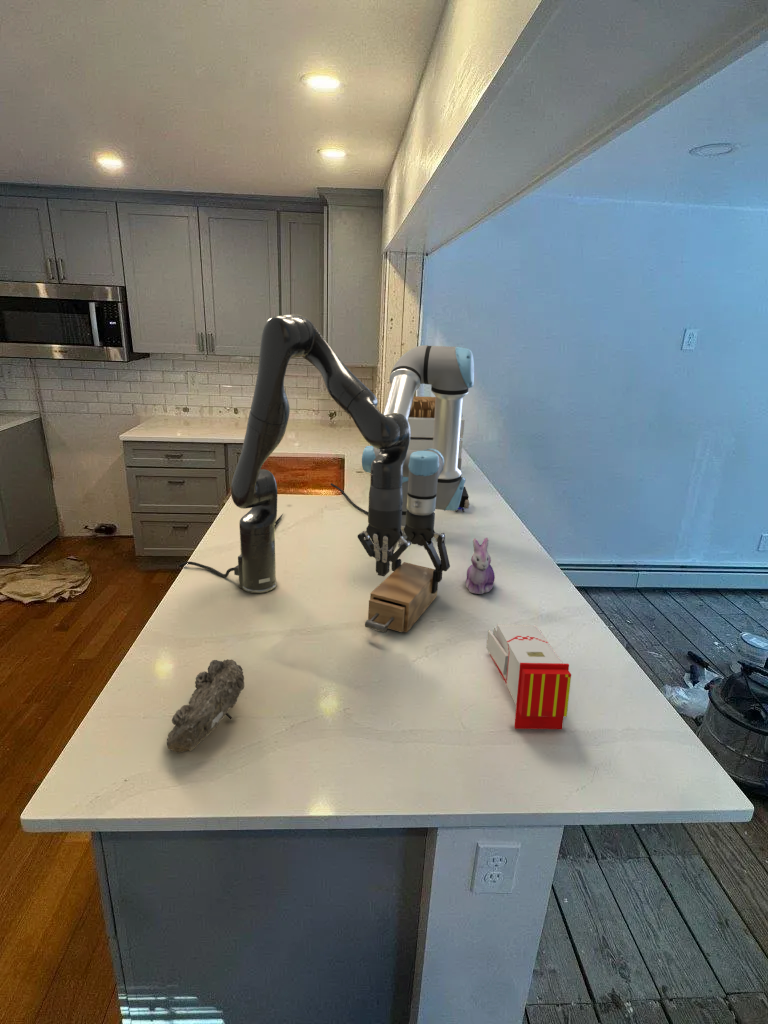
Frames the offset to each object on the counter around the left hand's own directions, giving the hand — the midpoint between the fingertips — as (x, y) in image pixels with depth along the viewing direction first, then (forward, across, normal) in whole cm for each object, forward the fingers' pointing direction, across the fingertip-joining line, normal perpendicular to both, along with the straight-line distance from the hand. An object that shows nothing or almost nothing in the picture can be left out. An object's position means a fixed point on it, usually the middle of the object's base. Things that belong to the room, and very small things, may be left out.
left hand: (382, 574), depth 132 cm
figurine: (+16, +14, +37) cm, 43 cm away
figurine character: (+16, -13, +101) cm, 103 cm away
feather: (+16, -67, +55) cm, 88 cm away
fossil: (+16, -16, -41) cm, 47 cm away
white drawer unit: (+16, -46, +140) cm, 148 cm away
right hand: (+13, 0, +22) cm, 26 cm away
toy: (+17, +35, -3) cm, 39 cm away
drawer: (+16, 0, +10) cm, 18 cm away
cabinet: (+16, 0, +15) cm, 23 cm away
